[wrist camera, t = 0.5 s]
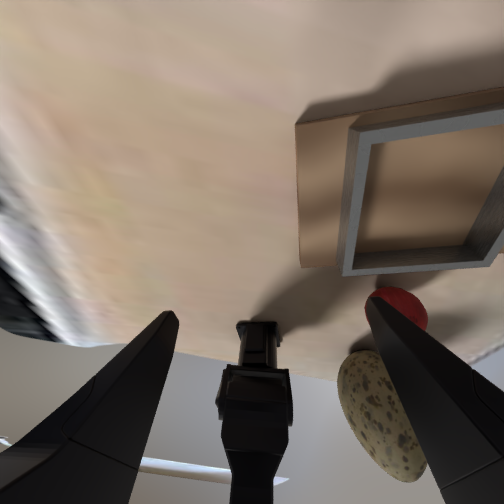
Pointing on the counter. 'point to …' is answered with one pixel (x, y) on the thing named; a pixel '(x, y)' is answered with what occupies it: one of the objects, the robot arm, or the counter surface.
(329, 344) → the counter surface
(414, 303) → the onion
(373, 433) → the decorative egg
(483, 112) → the square metal frame
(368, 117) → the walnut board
